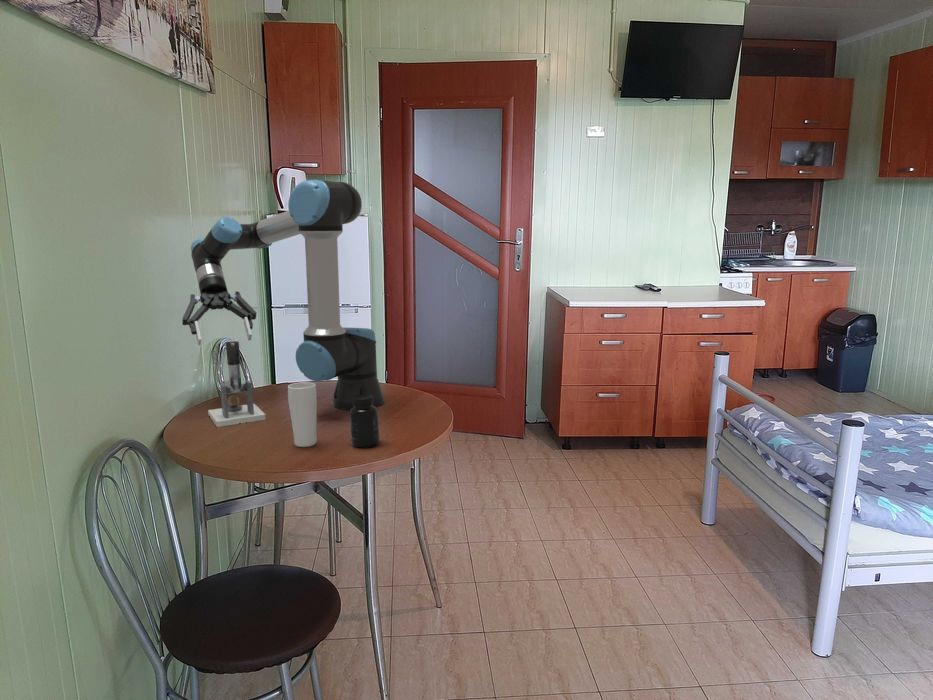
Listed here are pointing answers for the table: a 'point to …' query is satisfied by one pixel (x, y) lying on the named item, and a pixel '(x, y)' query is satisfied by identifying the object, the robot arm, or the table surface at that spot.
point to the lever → (234, 368)
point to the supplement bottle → (364, 422)
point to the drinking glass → (303, 412)
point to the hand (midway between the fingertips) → (225, 340)
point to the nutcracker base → (236, 409)
